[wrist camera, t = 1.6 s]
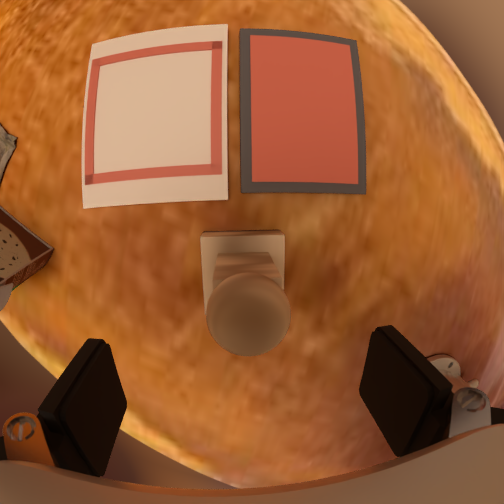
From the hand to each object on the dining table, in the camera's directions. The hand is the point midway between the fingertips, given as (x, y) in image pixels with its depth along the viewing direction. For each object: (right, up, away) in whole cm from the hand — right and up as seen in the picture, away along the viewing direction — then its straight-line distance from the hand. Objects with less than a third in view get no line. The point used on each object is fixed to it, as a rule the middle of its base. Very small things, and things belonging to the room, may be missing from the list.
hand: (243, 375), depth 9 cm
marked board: (-8, +15, +11) cm, 20 cm away
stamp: (0, +3, +14) cm, 15 cm away
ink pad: (+4, +16, +12) cm, 20 cm away
